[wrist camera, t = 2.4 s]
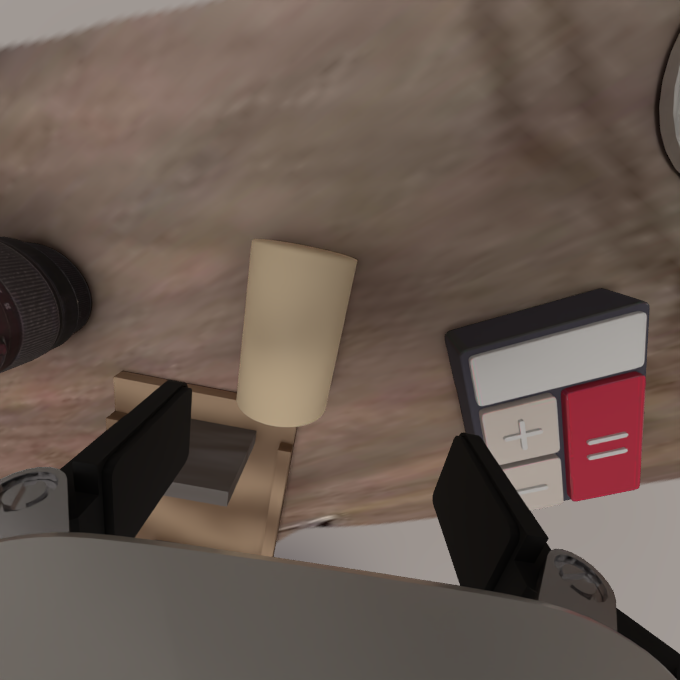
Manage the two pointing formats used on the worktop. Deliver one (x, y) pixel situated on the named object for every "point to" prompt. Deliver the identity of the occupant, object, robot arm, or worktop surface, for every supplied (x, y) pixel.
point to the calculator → (558, 394)
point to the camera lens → (37, 301)
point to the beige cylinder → (291, 331)
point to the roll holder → (217, 473)
